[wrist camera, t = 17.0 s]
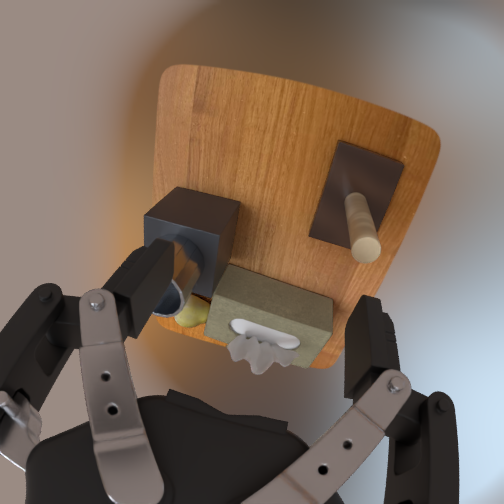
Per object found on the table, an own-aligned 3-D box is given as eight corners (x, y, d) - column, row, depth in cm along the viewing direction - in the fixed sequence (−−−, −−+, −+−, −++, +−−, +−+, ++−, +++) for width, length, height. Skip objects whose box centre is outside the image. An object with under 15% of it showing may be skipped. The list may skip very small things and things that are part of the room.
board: (338, 139, 36) (339, 141, 34) (401, 162, 35) (404, 165, 34) (308, 231, 43) (308, 236, 42) (365, 249, 43) (367, 254, 42)
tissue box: (335, 299, 49) (333, 377, 36) (312, 335, 54) (304, 409, 41) (226, 262, 49) (192, 332, 36) (215, 303, 55) (185, 371, 42)
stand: (176, 186, 44) (143, 215, 36) (240, 201, 43) (220, 235, 35) (173, 241, 49) (145, 277, 41) (230, 257, 49) (211, 298, 41)
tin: (170, 222, 35) (142, 254, 30) (215, 261, 37) (196, 298, 31) (144, 256, 39) (118, 288, 33) (185, 290, 41) (164, 325, 35)
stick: (356, 187, 37) (369, 231, 27) (371, 204, 38) (386, 252, 28) (339, 201, 38) (345, 249, 29) (354, 217, 39) (363, 268, 29)
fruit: (225, 322, 57) (174, 315, 57) (227, 293, 55) (174, 287, 56) (221, 338, 52) (166, 330, 52) (223, 307, 50) (165, 300, 50)
